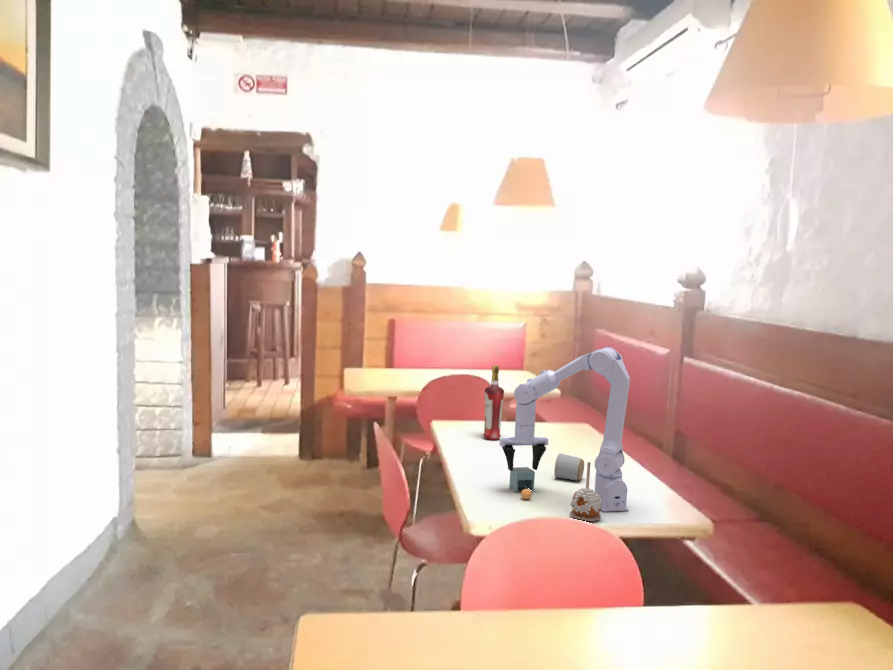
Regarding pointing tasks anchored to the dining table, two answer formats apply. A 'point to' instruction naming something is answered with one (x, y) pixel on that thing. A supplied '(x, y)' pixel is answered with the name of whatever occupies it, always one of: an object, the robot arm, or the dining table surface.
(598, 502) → the caramel apple
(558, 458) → the ceramic mug
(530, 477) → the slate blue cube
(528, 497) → the orange ball
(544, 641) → the dining table surface
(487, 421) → the liquor
